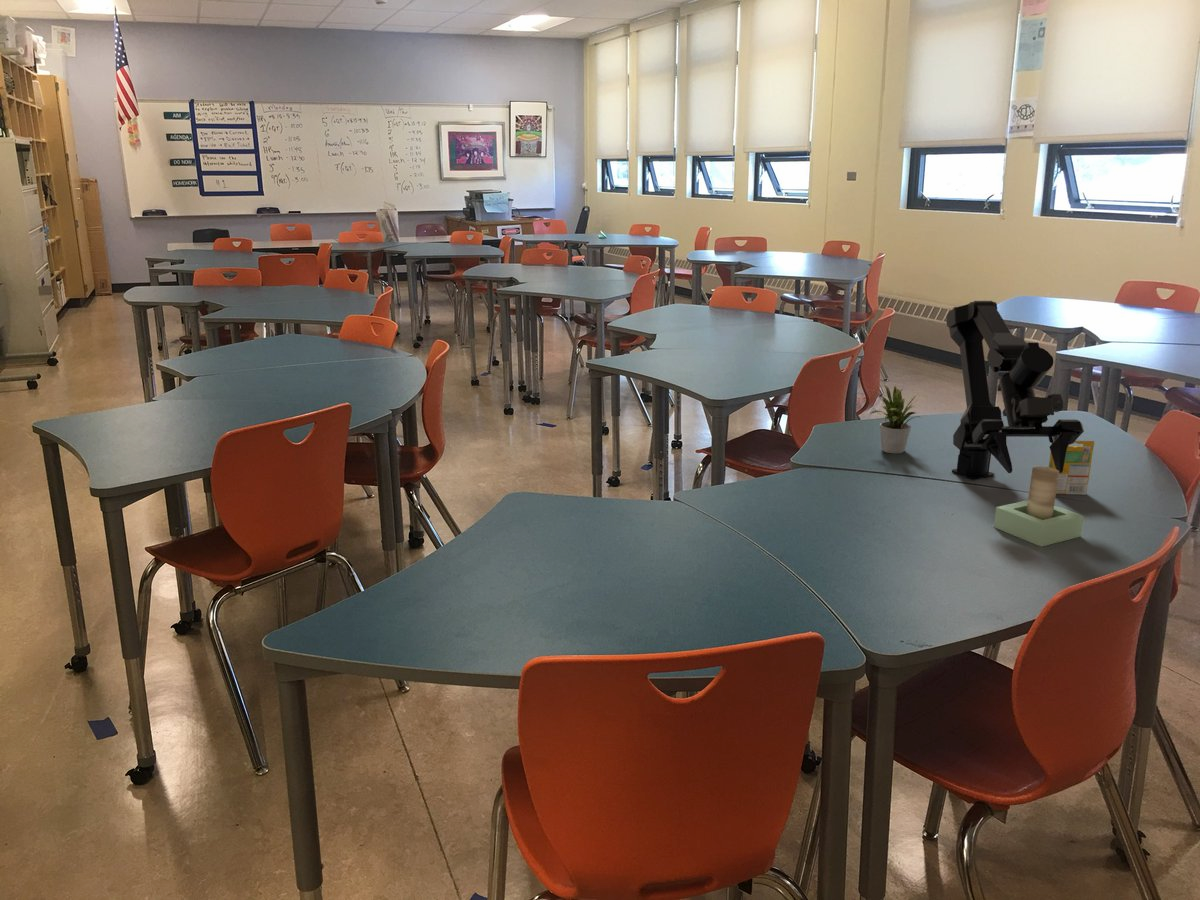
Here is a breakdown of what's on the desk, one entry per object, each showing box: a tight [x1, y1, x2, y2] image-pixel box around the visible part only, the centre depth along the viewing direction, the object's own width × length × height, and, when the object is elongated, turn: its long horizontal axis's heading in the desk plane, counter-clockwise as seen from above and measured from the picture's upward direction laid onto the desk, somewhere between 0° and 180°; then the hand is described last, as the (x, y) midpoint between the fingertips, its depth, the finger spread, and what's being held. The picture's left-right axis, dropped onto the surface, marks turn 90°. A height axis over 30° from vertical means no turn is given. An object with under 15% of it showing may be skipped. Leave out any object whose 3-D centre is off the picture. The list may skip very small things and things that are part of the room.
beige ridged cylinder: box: [1026, 466, 1059, 520], centre depth 166 cm, size 4×4×12 cm
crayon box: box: [1048, 440, 1095, 496], centre depth 186 cm, size 7×3×12 cm, turn 84°
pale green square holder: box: [993, 499, 1085, 547], centre depth 167 cm, size 10×10×4 cm
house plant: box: [866, 383, 926, 454], centre depth 215 cm, size 14×14×16 cm
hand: (1035, 472), depth 168 cm, fingers open, 9 cm apart
